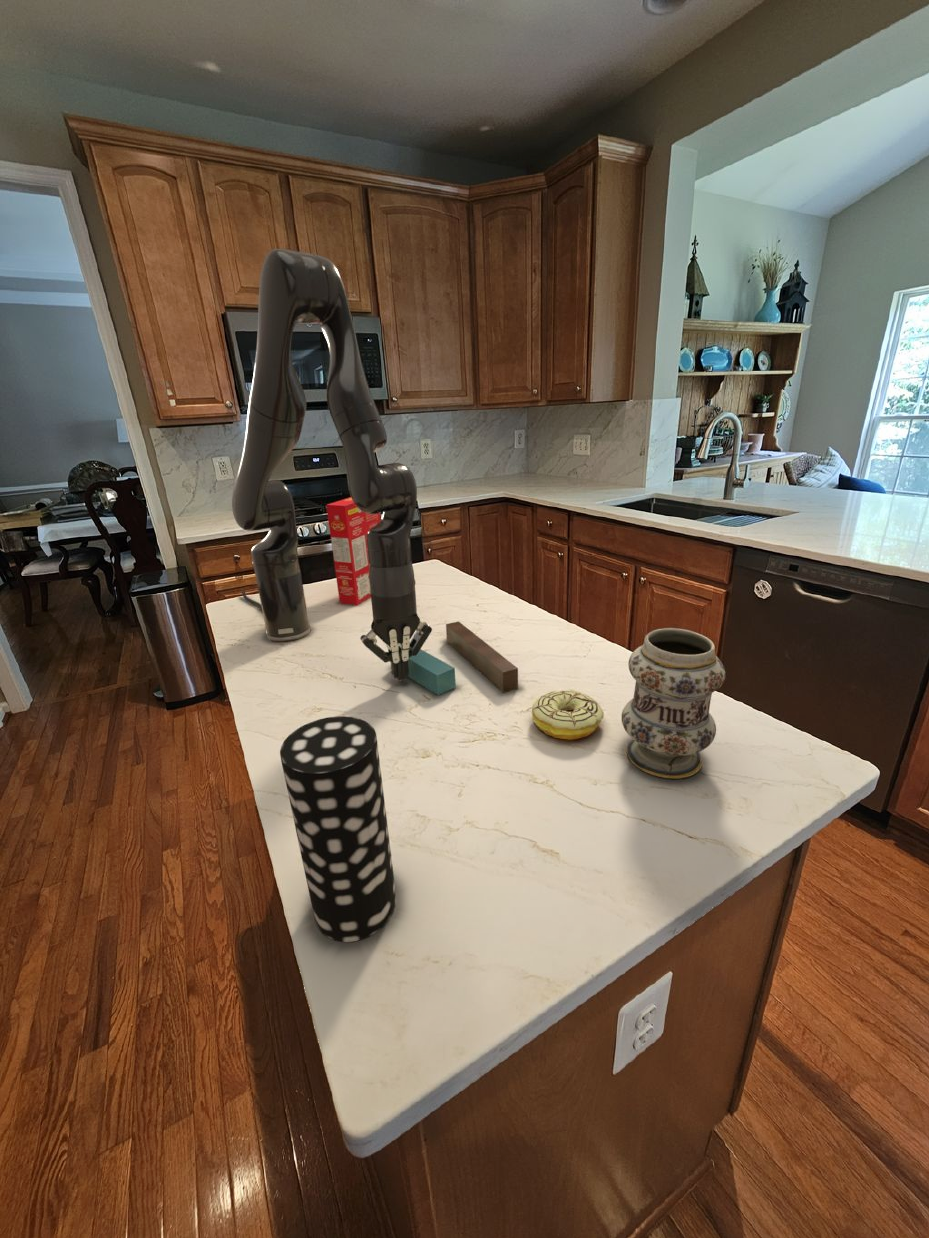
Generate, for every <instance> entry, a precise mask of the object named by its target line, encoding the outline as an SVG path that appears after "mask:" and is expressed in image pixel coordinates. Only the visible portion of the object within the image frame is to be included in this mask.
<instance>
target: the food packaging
mask: <svg viewBox="0 0 929 1238" xmlns="http://www.w3.org/2000/svg"><path fill="white" fill-rule="evenodd" d="M325 506H326V513H327V521H328V528H329V535H330V542H331V549H332V556H333V564H334V572H335V578H336V585H337V592H338V593H337V594H338V601H339V603H340V604H346V605H352V606H353V605H354V606H358V605H360V604H361V603H363V602H365V601H366V600H368V599H370V598H371V593H370V584H369V559H368V550H367V533H368V531H369V530H370V529H371V528H372V527H374V526H376V525H377V524H378V523H379V522H380V521H381V519H382V517H381V513H377V514H367V513H365V512H363V511H361V510H360V509H359V508H358V507H357V506H356V505H355V503H354V501H353V500H352V498H351V496H350V497H347V498H343V499H341V500H337V501H334V502H331V503H327V504H326V505H325Z"/></svg>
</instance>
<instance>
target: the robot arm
mask: <svg viewBox="0 0 929 1238" xmlns="http://www.w3.org/2000/svg"><path fill="white" fill-rule="evenodd" d="M261 265H262V266H261V268H260V269H261V270H260V276H259V283H258V284H259V285H258V303H257V304H258V308H257V311H258V312H257V332H256V333H257V334H256V348H255V359H254V368H253V376H252V382H251V389H250V393H249V401H248V408H247V415H246V426H245V436H244V441H243V448H242V455H241V459H240V462H239V463H240V464H239V467H238V471H237V474H236V478H235V482H234V486H233V491H232V498H231V508H232V514H233V517H234V520H235V522H236V524H237V525H238V527H240V528H241V529H242V530H245V531H247V532H257V531H263V530H266V529H269V531H268V532H267V535H266V536H265V537H264V538H263V539H261V540H260V541H259V542H257V543H256V544H255V545H254V546H252V548H251V550H250V554H251V562H252V565H253V566H252V567H253V572H254V575H255V581H256V586H257V590H258V591H257V592H258V596H259V601H260V603H259V602H258V601H256V600H253V599H251V598H249V597H248V596H247V594H246V590H245V589H241V594H242V597H243V598H244V600H246V601H247V602H249V603H251V604H253V605H255V606H256V607H258V608H260V609H261V611H262V615H263V621H264V626H265V630H266V631H265V633H266V638H267V639H268V640H270V641H273V642H288V641H295V640H297V639H300V638H303V637H305V636H306V635H308V634H309V633H310V632H311V625H310V620H309V614H308V608H307V603H306V602H307V601H306V596H305V590H304V583H303V577H302V571H301V566H300V561H299V560H300V559H299V553H298V547H299V538H298V530H297V529H298V528H297V521H296V509H295V504H294V499H293V495H292V493H291V491H290V489H289V486H287V485H286V484H285V483H284V482H283V481H281V480H278V479H272V480H270V478H271V477H272V475H273V473H274V472H275V471H276V469H277V468H278V467H279V466H280V465H281V464H282V462H283V461H285V459H286V458H287V457H288V456H289V455H290V453H291V452H292V451H293V449H294V448H295V447H296V445H297V444H298V442H299V440H300V438H301V434H302V430H303V426H304V421H305V417H306V411H307V398H306V394H305V391H304V388H303V386H302V383H301V381H300V378H299V376H298V373H297V371H296V369H295V367H294V364H293V361H292V355H291V354H292V353H291V352H292V339H293V333H294V329H295V327H296V324H299V325H312V326H313V325H315V326H318V327H319V328H320V330H321V332H322V334H323V336H324V338H325V340H326V343H327V347H328V351H329V368H328V374H327V375H328V376H327V383H326V403H327V407H328V411H329V414H330V417H331V419H332V422H333V425H334V427H335V429H336V432H337V435H338V438H339V440H340V443H341V444H342V448H343V455H344V463H345V471H346V479H347V486H348V487H347V488H348V491H349V495H350V497H351V498H352V500H353V501H354V503H355V505H356V506H357V507H358V508H359V509H360V510H361V511H363V512H365V513H367V514H377V513H380V514H381V513H382V517H381V521H380V522H379V523H378V524H377V525H376V526H374V527H372V528H371V529H370V530H369V531H368V533H367V550H368V559H369V584H370V593H371V597H370V600H371V601H370V602H371V603H370V604H371V611H372V622H371V625H370V629H371V630H369V631H368V633H366V634H362V635H361V636H360V641H361V643H362V644H363V645H364V646H365V647H366V648H367V649H368V650H369V651H371V652H372V653H373V654H374V655H375V656H376V657H378V658H379V660H381V661H382V662H384V663H390V672H391V674H392V676H393V677H394V679H396V680H397V681H398V682H400V681H403V680H404V681H405V680H407V677H408V674H409V666H408V659H409V658H410V657H411V656H416V655H417V654H418V652H419V651H420V649H421V650H422V647H423V646H424V644H425V643H426V641H427V640H428V639H429V637H430V635H431V634H432V632H433V628H432V627H431V626H430V625H429V624H428V623H427V622H425V621H421V619H420V617H419V615H418V610H417V595H416V594H417V593H416V578H415V570H414V566H413V561H412V546H411V533H412V528H413V524H414V518H415V513H416V512H415V511H416V506H417V499H418V487H417V482H416V478H415V476H414V474H413V472H412V470H410V468H409V467H408V466H407V465H405V464H403V463H399V462H390V463H386V464H379V465H377V464H376V461H375V453H377V452H378V451H381V450H382V449H383V448H384V447H385V446H386V444H387V442H388V434H387V431H386V428H385V425H384V423H383V420H382V418H381V415H380V413H379V410H378V407H377V405H376V403H375V400H374V398H373V395H372V391H371V389H370V386H369V384H368V380H367V376H366V374H365V369H364V365H363V362H362V357H361V353H360V348H359V343H358V338H357V334H356V330H355V325H354V321H353V316H352V313H351V309H350V305H349V300H348V295H347V292H346V288H345V285H344V281H343V279H342V277H341V274H340V272H339V269H338V267H337V266H336V265H335V263H334V262H333V261H332V260H331V259H329V258H328V257H326V256H323V255H320V254H314V253H309V252H304V251H298V250H292V249H285V248H274V249H271V250H270V251H269V252H268V253H267V254H266V255H265V257H264V260H263V262H262V264H261ZM376 637H378V638H379V640H381V641H382V642H383V643H384V644H385V645H386V648H387V651H385V650H384V649H382V647H380V646H379V645H378V639H377V638H376Z"/></svg>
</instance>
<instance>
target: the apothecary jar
mask: <svg viewBox="0 0 929 1238" xmlns="http://www.w3.org/2000/svg"><path fill="white" fill-rule="evenodd" d="M643 640H644V641H643V644H642V645H640V646H638V647H637V648H636V649H634V651H633V652H631V654H630V656H629V659H628V670H629V673H630V675H631V676H632V678H633V680H635V686H634V690H633V691H634V693H633V697H632V698H631V699H630V700H628V702H627V703H626V704H625V706H624V707H623V709H622V712H621V724H622V727H623V730H624V731H625V732H626V733H627V735H628V736H629V737H630V738H631V739H632V740H631V741H630V742H629V743H628V744H627V748H626V754H627V757H628V759H629V760H630V761H631V763H632V764H633V765H634V766H635V767H636V768H638V769H639V770H641V771H643V772H645V773H647V774H649V775H651V776H653V777H658V778H662V779H670V780H677V779H678V780H679V779H685V778H689V777H691V776H693V775H695V774H697V773H698V772H699V771H700V770H701V768H702V765H703V764H702V763H703V760H702V757H701V755H700V752H702V751H704V750H705V749H707V748H708V747H709V746H711V744H712V743H713V742H714V740H715V737H716V734H717V725H716V722H715V719H714V717H713V716H712V714H711V713H710V707H711V701H712V695H713V693H714V692H716V691H718V690H719V689H720V688H721V687H722V685H723V684H724V683H725V680H726V669H725V666H724V664H723V663H722V661H721V660H720V658H719V657H718V656H717V655H716V646H715V644H714V642H713V641H712V640H711V639H710V638H709V637H707V636H705V635H703V634H700V633H698V632H695V631H693V630H688V629H683V628H675V627H664V628H658V629H654V630H651V631H649V632H647V633H646V635H645V637H644V639H643Z"/></svg>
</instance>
